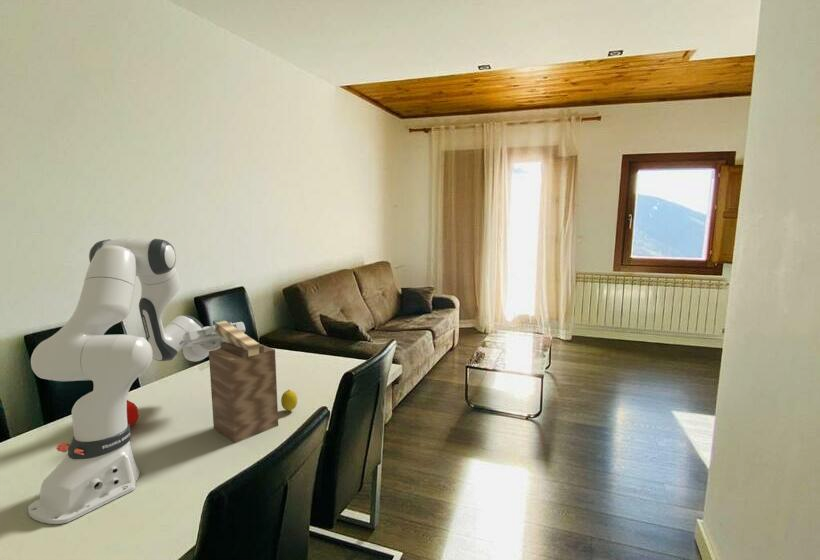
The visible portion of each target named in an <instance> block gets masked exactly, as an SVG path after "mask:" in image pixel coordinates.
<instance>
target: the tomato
mask: <svg viewBox="0 0 820 560" xmlns="http://www.w3.org/2000/svg"><path fill="white" fill-rule="evenodd" d="M139 416H140V414H139V409H138V407H137V406H136V404H135V403H134V402H133V401H132V402H131V401H130V400H128V399H127V423H128V424H129V425H130V427H132V426H133V425H136V423H137V422H138V421H139Z"/></svg>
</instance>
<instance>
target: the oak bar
mask: <svg viewBox="0 0 820 560" xmlns="http://www.w3.org/2000/svg"><path fill="white" fill-rule="evenodd" d="M213 325H217V326H218V330H217V331H215V333H217V334H218V335H220V336H221V337H222V338H224V339H225V340H226V341H228V342H229V343H231V344H232V345H234V346H237V347H240V348H242V349H245V350H247V356H248V357H249V356H253V355H257V354H259V345H260V342H257V340H255V339H253V338H252V337H251V336H249V335H248V334H246V333H245V332H244V333H243V332H241V331H240V330H239V329H237V328H236V327H234V326H233V325H231V324H230V322H228V321H227V320H225V319H224V318H221V319H216V320H212V326H213Z"/></svg>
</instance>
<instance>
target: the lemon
mask: <svg viewBox="0 0 820 560" xmlns="http://www.w3.org/2000/svg"><path fill="white" fill-rule="evenodd" d="M281 395H282V396H281V399H280V403H281V406H282V408H283V409H284V410H286V411H288V412H291V411H293V410H294V409H295V408H296V407H297V404H298V396H297V394H296V392H295V391H294V390H291V389H288V390H285V391H284V392H283V393H282V394H281Z"/></svg>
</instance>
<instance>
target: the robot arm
mask: <svg viewBox="0 0 820 560" xmlns="http://www.w3.org/2000/svg"><path fill="white" fill-rule="evenodd" d="M88 253H89V254H88V259H89V266H88V268H87V269H86V270H87V271H86V274H85V276H84V277H85V278H84V280H83V281H84V282H83V286H82V290H81V293H80V296H79V298H78V299H79V300H78V302H77V305H76V308H75V309H74V312H73V313H72V315H71V317H70V318H69V319H68V320H67V322H66V323H65V324H64V325H63V326H62V327H61V328H60V329H59V330H58V331H56V332H55V333H54V334H53V335H51V336H49V337H48V338H46V339H44V340H42V341H40V343H38V345H37V346H36V347H35V348H34V349H33V352H32V353H31V357H30V367H31V370H32V371H33V373H34V374H35V376H37V377H38V378H40V379H43V380H48V381H55V382H75V381H76V382H77V381H92V383H93V390H92V391H90V392H88V393H86V394H85V395H82V396H81V397H80V398H79V399H77V400H76V402H75V403H74V405H73V406H72V408H71V420H72V428H73V437H72V439H71V442H70V444H69V443H65V442H63V441H62V442H59V443H58V444H57V446H56V448H55V449H56V451H57V452H62V453H67V455H66V456H65V457H64V458H63V459H62V461H60V463H59V464H58V465H57V466H56V467H55V468H54V469H53V470H52V471H51V473H50V474H48V476H46V477H45V479H44V480H43V481H42V483H41V484H40V485H41V486H40V491H39V498H38V499H36V500H34V501H33V502H31V503H30V504H29V505H28V510H27V512H28V513H27V514H28V515H29V517H32V518H31V519H33V520H34V521H35V520H36V521H37V522H40V523H44V524H49V525H61V524H66V523H70V522H72V521H73V520H75V519H78V518H79V517H82V516H84V515H86V514H88V513H90V512H92V511H94V510H97V509H98V508H101V507H102V506H104V505H106V504H109V503H110V502H112V501H115V500H116V499H118V498H120V497H122V496H124V495H126V494H129V493H131V492H133V491H134V490H135V489H136V488H137V486H136V482H137V480H138V479H139V478H140V474H141V473H140V469H139V468H138V465H137V464H136V461H135V458H134V454H133V451H132V446H131V439H132V434H131V426H130V425H129V424H128V423H127V400H128V394H129V391H130V390H131V389H130V388H131V387H132V385H133V383H134V382H135V381H136V380H137V379H138V378H139V377H140V376H141V375H143V374H144V373H145V372H146V371H147V370H148V369H149V367H150V365H151V363H152V361H153V359H154V360H155V361H158V362H167V361H172V360H174V358H175V357H176V356H177V355H178V354H179V352H180V351H181V350H183V351H182V353H183V356H184V358H185V360H187V361H190V362H200V361H203V360H204V359H206V358H208V357H209V351H213V350H217V349H221V345H220V343H222V342H227V343H229V342H228V341H226V340H225V339H224V338H222V337H221V336H220V335H218V334H217V333H215V331H217V330H218V326H217V325H213V324H212V325H211V326H208V325H207V326H204V325H203V324H202V323H201V321H200V320H198V319H197V318H195V317H194V316H191V315H186V314H180V315H179V314H178V315H177V316H175V318H174V319H173V320H171V321H170V322H169V323H168V324H167V325H165V326H163V321H162V316H163V314H164V311H165V309H166V307H167V306H168V305H169V303H170V302H171V300H172V299H173V298H174V297H175V296H176V294H177V293H178V292H179V290H180V286H181V280H180V279H181V278H180V274H179V273H178V269H177V267H176V262H177V261H176V260H177V259H176V258H177V255H176V251H175V248H174V246H173V245H172V244H171V243H170V242H169V241H167V240H165V239H160V238H154V239H149V238H134V237H128V238H126V237H125V238H117V239H116V238H115V239H104V240H103V239H102V240H99V241H97V242H96V243H95V244H93V246H92V247H91V248H90V250H89V252H88ZM136 277H137V279H139V282H140V286H141V288H140V289H141V291H140V292H141V293H140V300H139V302H138V309H139V314H140V318H141V321H142V322H141V323H142V326H143V327H142V328H143V330H144V335H145V337H143V336H138V335H132V334H106V332H107V331H108V330H109V329H110V328H111V327H113V326H114V325H116V324H119V323H121V322H124V320H125V319H126V318H127V317H128V316H129V314H130V312H131V307H132V301H133V297H134V296H133V295H134V292H135V291H134V290H135V286H136ZM229 323H230V324H231V325H233V326H234V327H236V328H237V329H239V330H240V331H241V332H243V333H244V334H245V332H246V326H245V323H244V322H243V321H237V322H233V323H232V321H230V322H229ZM229 344H231V343H229Z"/></svg>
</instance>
